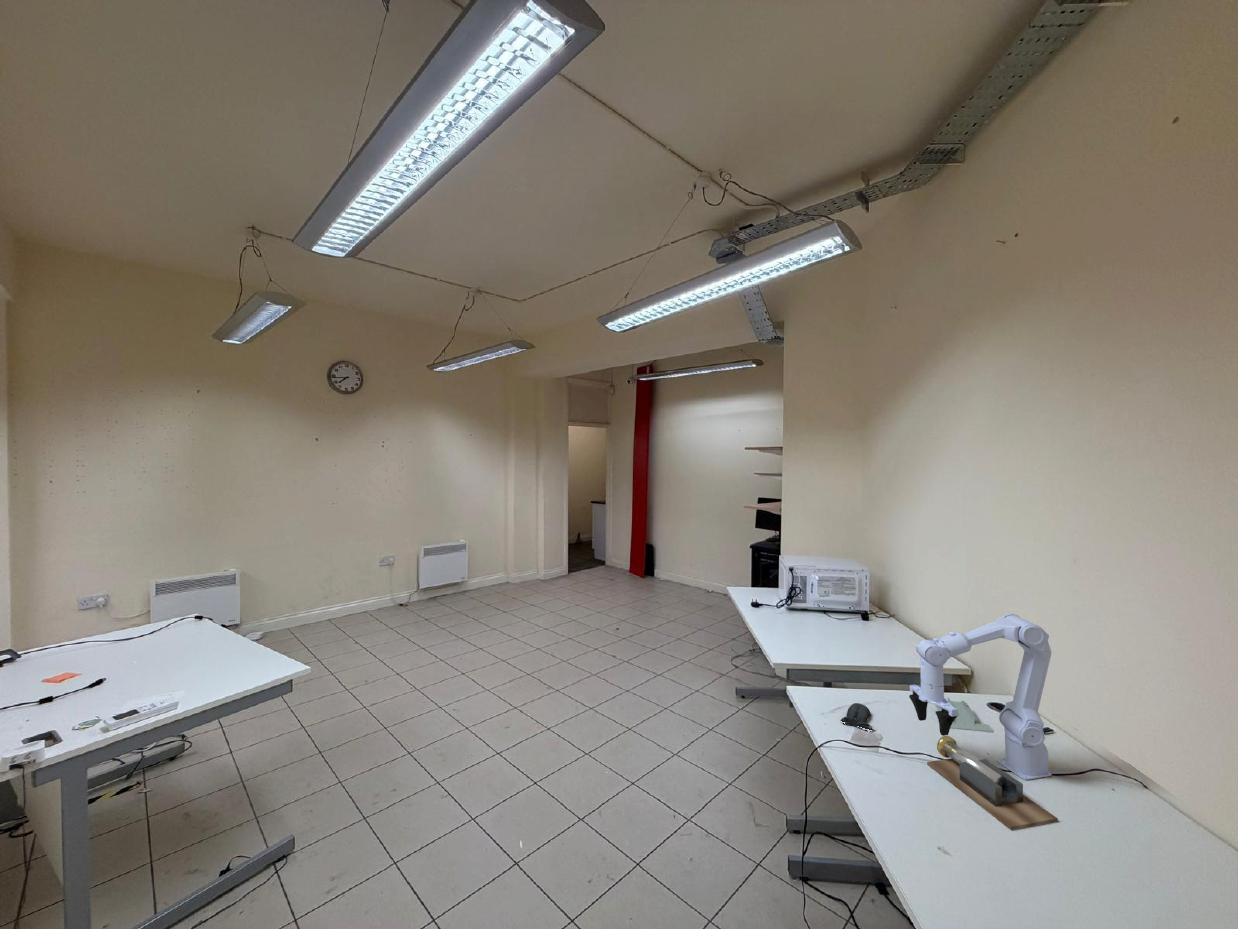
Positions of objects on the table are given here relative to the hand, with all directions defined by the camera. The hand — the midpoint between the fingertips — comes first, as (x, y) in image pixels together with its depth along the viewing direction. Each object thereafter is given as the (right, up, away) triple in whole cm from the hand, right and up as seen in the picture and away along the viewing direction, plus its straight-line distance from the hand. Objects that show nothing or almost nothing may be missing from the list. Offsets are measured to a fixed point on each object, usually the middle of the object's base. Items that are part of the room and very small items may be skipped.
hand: (932, 727), depth 133 cm
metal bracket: (+24, -11, +21) cm, 33 cm away
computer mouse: (-10, -11, +23) cm, 27 cm away
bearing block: (+6, -10, -13) cm, 18 cm away
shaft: (+5, -9, -7) cm, 12 cm away
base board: (+6, -10, -13) cm, 18 cm away
